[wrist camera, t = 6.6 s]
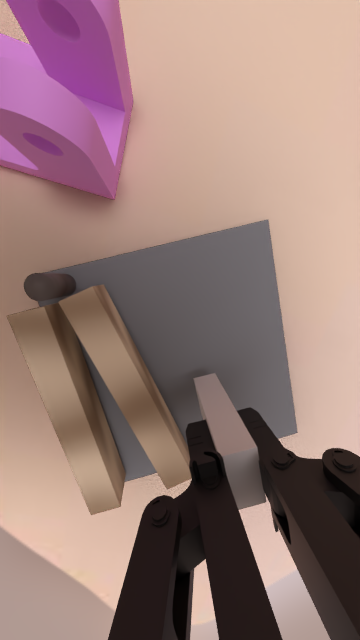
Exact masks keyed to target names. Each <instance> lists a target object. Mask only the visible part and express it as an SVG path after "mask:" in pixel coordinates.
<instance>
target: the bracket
mask: <svg viewBox="0 0 360 640" xmlns="http://www.w3.org/2000/svg"><path fill="white" fill-rule="evenodd" d="M6 1H7V3H8V5H9V7H10V8H11V10H12V12H13V14H14V15H15V17H16V19H17V21H18V23H19V24H20V26H21V28H22V30H23V32H24V33H25V35H26V37H27V39H28V41H29V42H30V44H31V45H30V44H27V43H25V42H22V41H19V40H17V39H14V38H11V37H9V36H6V35H4V34H1V33H0V165H1V166H4V167H7V168H11V169H14V170H17V171H21V172H24V173H27V174H31V175H34V176H37V177H40V178H44V179H47V180H50V181H54V182H57V183H60V184H64V185H67V186H70V187H74V188H77V189H80V190H83V191H87V192H90V193H93V194H97V195H100V196H103V197H107V198H110V199H113V200H115V195H116V190H117V184H118V179H119V174H120V169H121V163H122V158H123V153H124V147H125V142H126V137H127V132H128V126H129V121H130V116H131V111H132V105H133V95H132V89H131V82H130V75H129V68H128V62H127V55H126V48H125V41H124V35H123V28H122V21H121V14H120V8H119V1H118V0H6Z"/></svg>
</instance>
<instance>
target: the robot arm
mask: <svg viewBox="0 0 360 640" xmlns="http://www.w3.org/2000/svg"><path fill="white" fill-rule="evenodd" d="M193 379H194V383H195V388H196V392H197V396H198V401H199V405H200V410H201V414H202V417H203V420H201V421H197V422H194V423H190V424H188V426H187V428H186V431H185V432H186V438H187V444H188V450H189V456H190V461H189V469H190V473H191V477H192V481H191V483H190V485H189V487H188V488H187V489H186V491H185V492H183V493H182V494H181V495H179V496H178V497H176V498H175V499H173V498H172V497H170V496H165V495H163V496H159V497H156V498H155V499H153V500H152V501H150V503H149V504H148V505H147V506H146V508H145V510H144V512H143V514H142V518H141V521H140V525H139V529H138V532H137V536H136V540H135V543H134V547H133V550H132V554H131V558H130V561H129V565H128V569H127V572H126V576H125V579H124V583H123V587H122V590H121V594H120V597H119V601H118V605H117V608H116V612H115V616H114V619H113V623H112V627H111V630H110V634H109V637H108V640H190V630H191V612H192V595H193V578H194V568H195V567H196V566H197V565H199V564H200V563H201V562H202V561H203V560H205V559H206V563H207V569H208V575H209V581H210V587H211V593H212V599H213V605H214V611H215V617H216V623H217V629H218V635H219V640H282V637H281V634H280V631H279V628H278V625H277V622H276V619H275V616H274V613H273V610H272V607H271V604H270V602H269V599H268V596H267V593H266V590H265V587H264V584H263V581H262V578H261V575H260V572H259V569H258V566H257V563H256V560H255V557H254V554H253V552H252V549H251V546H250V543H249V540H248V537H247V534H246V531H245V528H244V525H243V522H242V519H241V516H240V513H239V510H240V509H243V508H247V507H250V506H254V505H258V504H261V503H265V502H266V497H265V494H266V496H267V498H268V500H269V502H270V505H271V511H272V517H273V523H274V528H275V531H276V532H278V528H279V530H280V533H281V535H282V537H283V539H284V541H285V543H286V545H287V547H288V550H289V552H290V554H291V556H292V558H293V560H294V562H295V565H296V567H297V569H298V571H299V573H300V575H301V577H302V579H303V582H304V584H305V586H306V588H307V590H308V592H309V594H310V596H311V598H312V601H313V603H314V605H315V607H316V609H317V611H318V614H319V616H320V617H321V620H322V622H323V624H324V626H325V628H326V631H327V633H328V635H329V637H330V639H331V640H360V457H359V456H358V455H356V454H354V453H352V452H350V451H348V450H344V449H341V448H332V449H328V450H326V451H325V452H324V453H323V456H322V459H307V458H301V457H297V456H296V455H295V454H294V453H293V452H292V451H290V450H288V449H285V448H284V447H283V445H282V444H281V443H280V441H279V440H278V439H277V437H276V436H275V434H274V433H273V432H272V430H271V429H270V428H269V426H268V425H267V423H266V422H265V421H264V420H263V418H262V417H261V415H260V414H259V412H257V411H256V410H254V409H253V408H251V407H249V408H245V409H241V410H237V411H236V409H235V407H234V406H233V404H232V402H231V400H230V399H229V397H228V395H227V393H226V392H225V390H224V388H223V386H222V385H221V383H220V381H219V379H218V378H217V376H216V374H215V373H213V374H209V375H205V376H201V377H197V378H193Z"/></svg>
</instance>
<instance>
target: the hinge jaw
mask: <svg viewBox="0 0 360 640" xmlns="http://www.w3.org/2000/svg"><path fill="white" fill-rule="evenodd" d="M58 303H59V304H60V306H61V308H62V310H63V311H64V313H65V315H66V316H67V318H68V320H69V322H70V323H71V325H72V327H73V329H74V330H75V332H76V334H77V335H78V337H79V339H80V341H81V342H82V344H83V346H84V347H85V349H86V351H87V353H88V354H89V356H90V358H91V359H92V361H93V363H94V365H95V366H96V368H97V370H98V372H99V373H100V375H101V377H102V378H103V380H104V382H105V384H106V385H107V387H108V389H109V390H110V392H111V394H112V396H113V397H114V399H115V401H116V402H117V404H118V406H119V408H120V409H121V411H122V413H123V415H124V416H125V418H126V420H127V421H128V423H129V425H130V427H131V428H132V430H133V432H134V433H135V435H136V437H137V439H138V440H139V442H140V444H141V445H142V447H143V449H144V451H145V452H146V454H147V456H148V458H149V459H150V461H151V463H152V464H153V466H154V468H155V470H156V471H157V473H158V475H159V476H160V478H161V480H162V482H163V483H164V485H165V487H166V488H167V489H169V488H171V487H174V486H176V485H178V484H180V483H182V482H185V481H187V480H189V479H191V478H192V477H191V473H190V469H189V461H190V456H189V450H188V446H187V444H186V442H185V440H184V438H183V436H182V434H181V432H180V430H179V428H178V426H177V425H176V423H175V421H174V419H173V417H172V415H171V413H170V411H169V409H168V407H167V405H166V403H165V401H164V400H163V398H162V396H161V394H160V392H159V390H158V388H157V386H156V384H155V382H154V380H153V378H152V376H151V375H150V373H149V371H148V369H147V367H146V365H145V363H144V361H143V359H142V357H141V355H140V353H139V351H138V350H137V348H136V346H135V344H134V342H133V340H132V338H131V336H130V334H129V332H128V330H127V328H126V327H125V325H124V323H123V321H122V319H121V317H120V315H119V313H118V311H117V309H116V307H115V305H114V303H113V302H112V300H111V298H110V296H109V294H108V292H107V290H106V288H105V286H104V284H103V285H97V286H92V287H90V288H88V289H85V290H83V291H81V292H79V293H77V294H74V295H72V296H70V297H68V298H66V299H63V300H61V301H59V302H58Z"/></svg>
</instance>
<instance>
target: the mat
mask: <svg viewBox="0 0 360 640" xmlns="http://www.w3.org/2000/svg"><path fill="white" fill-rule="evenodd" d="M46 273H58V274H68V275H70V276H72V277H73V278H74V280H75V282H76V289H75V291H74V292H73V293H72V294H70V295H67V296H63V297H58V298H54V299H49V300H45V301H38V303H39V306H40V307H42V306H46V305H50V304H54V303H58V302H59V301H61V300H63V299H66V298H68V297H70V296H72V295H74V294H77V293H79V292H81V291H83V290H85V289H88V288H90V287H92V286H97V285H103V284H104V286H105V288H106V290H107V292H108V294H109V296H110V298H111V300H112V302H113V303H114V305H115V307H116V309H117V311H118V313H119V315H120V317H121V319H122V321H123V323H124V325H125V327H126V328H127V330H128V332H129V334H130V336H131V338H132V340H133V342H134V344H135V346H136V348H137V350H138V351H139V353H140V355H141V357H142V359H143V361H144V363H145V365H146V367H147V369H148V371H149V373H150V375H151V376H152V378H153V380H154V382H155V384H156V386H157V388H158V390H159V392H160V394H161V396H162V398H163V400H164V401H165V403H166V405H167V407H168V409H169V411H170V413H171V415H172V417H173V419H174V421H175V423H176V425H177V426H178V428H179V430H180V432H181V434H182V436H183V438H184V440H185V442H186V444H187V438H186V432H185V431H186V428H187V426H188V424H190V423H194V422H197V421H201V420H203V417H202V414H201V410H200V405H199V401H198V396H197V392H196V388H195V383H194V379H193V378H197V377H201V376H205V375H209V374H213V373H215V374H216V376H217V378H218V379H219V381H220V383H221V385H222V386H223V388H224V390H225V392H226V393H227V395H228V397H229V399H230V400H231V402H232V404H233V406H234V407H235V409H236V411H237V410H241V409H245V408H249V407H251V408H253V409H254V410H256V411H257V412H259V414H260V415H261V417H262V418H263V420H264V421H265V422H266V423H267V425H268V426H269V428H270V429H271V430H272V432H273V433H274V434H275V436H276V437H277V439H278V438H281V437H285V436H288V435H292V434H295V433H297V426H296V419H295V411H294V404H293V397H292V390H291V382H290V375H289V368H288V360H287V353H286V346H285V339H284V331H283V324H282V317H281V309H280V302H279V295H278V287H277V280H276V273H275V266H274V258H273V251H272V244H271V236H270V229H269V222H268V220H264V221H260V222H255V223H251V224H247V225H243V226H239V227H234V228H230V229H226V230H222V231H218V232H213V233H209V234H205V235H201V236H197V237H193V238H188V239H184V240H180V241H176V242H172V243H167V244H163V245H159V246H155V247H151V248H146V249H142V250H138V251H134V252H130V253H125V254H121V255H117V256H113V257H109V258H104V259H100V260H96V261H92V262H88V263H83V264H79V265H75V266H71V267H67V268H62V269H58V270H54V271H50V272H46ZM74 331H75V330H74ZM75 334H76V332H75ZM76 337H77V339H78V342H79V345H80V348H81V350H82V353H83V356H84V359H85V362H86V364H87V367H88V370H89V373H90V376H91V378H92V381H93V384H94V387H95V389H96V392H97V395H98V398H99V401H100V403H101V406H102V409H103V412H104V415H105V417H106V420H107V423H108V426H109V428H110V431H111V434H112V437H113V440H114V442H115V445H116V448H117V451H118V454H119V456H120V459H121V462H122V465H123V467H124V470H125V473H126V476H125V482H126V481H130V480H133V479H137V478H140V477H144V476H147V475H151V474H154V473H157V471H156V470H155V468H154V466H153V464H152V463H151V461H150V459H149V458H148V456H147V454H146V452H145V451H144V449H143V447H142V445H141V444H140V442H139V440H138V439H137V437H136V435H135V433H134V432H133V430H132V428H131V427H130V425H129V423H128V421H127V420H126V418H125V416H124V415H123V413H122V411H121V409H120V408H119V406H118V404H117V402H116V401H115V399H114V397H113V396H112V394H111V392H110V390H109V389H108V387H107V385H106V384H105V382H104V380H103V378H102V377H101V375H100V373H99V372H98V370H97V368H96V366H95V365H94V363H93V361H92V359H91V358H90V356H89V354H88V353H87V351H86V349H85V347H84V346H83V344H82V342H81V341H80V339H79V337H78V335H77V334H76ZM187 446H188V444H187Z"/></svg>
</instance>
